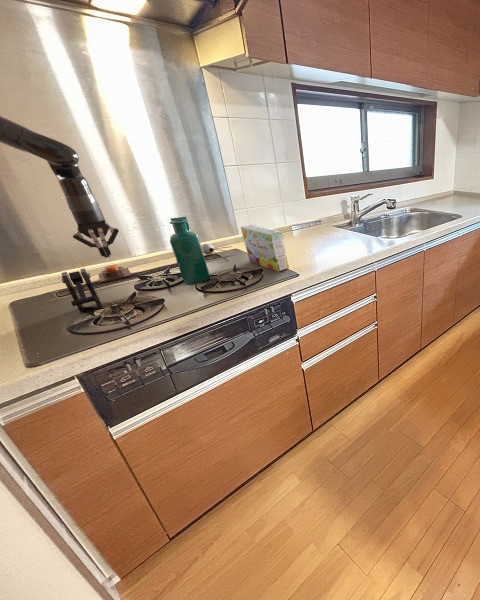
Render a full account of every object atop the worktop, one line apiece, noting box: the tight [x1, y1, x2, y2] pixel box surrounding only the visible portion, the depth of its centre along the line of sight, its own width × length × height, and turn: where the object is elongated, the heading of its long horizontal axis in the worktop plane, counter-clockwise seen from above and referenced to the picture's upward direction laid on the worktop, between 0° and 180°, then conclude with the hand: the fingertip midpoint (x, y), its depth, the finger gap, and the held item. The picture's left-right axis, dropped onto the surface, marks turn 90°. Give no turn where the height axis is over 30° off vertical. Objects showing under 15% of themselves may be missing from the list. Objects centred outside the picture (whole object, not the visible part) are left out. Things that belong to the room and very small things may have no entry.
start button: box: [104, 264, 119, 272], centre depth 119 cm, size 4×4×2 cm
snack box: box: [240, 224, 290, 273], centre depth 129 cm, size 21×6×15 cm, turn 53°
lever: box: [68, 270, 97, 307], centre depth 91 cm, size 12×5×2 cm, turn 44°
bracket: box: [60, 267, 103, 314], centre depth 95 cm, size 10×9×13 cm
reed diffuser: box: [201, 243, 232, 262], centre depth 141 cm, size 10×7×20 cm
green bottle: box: [169, 216, 211, 285], centre depth 115 cm, size 10×8×22 cm
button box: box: [97, 266, 133, 284], centre depth 120 cm, size 11×9×4 cm
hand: (107, 256), depth 118 cm, fingers closed
